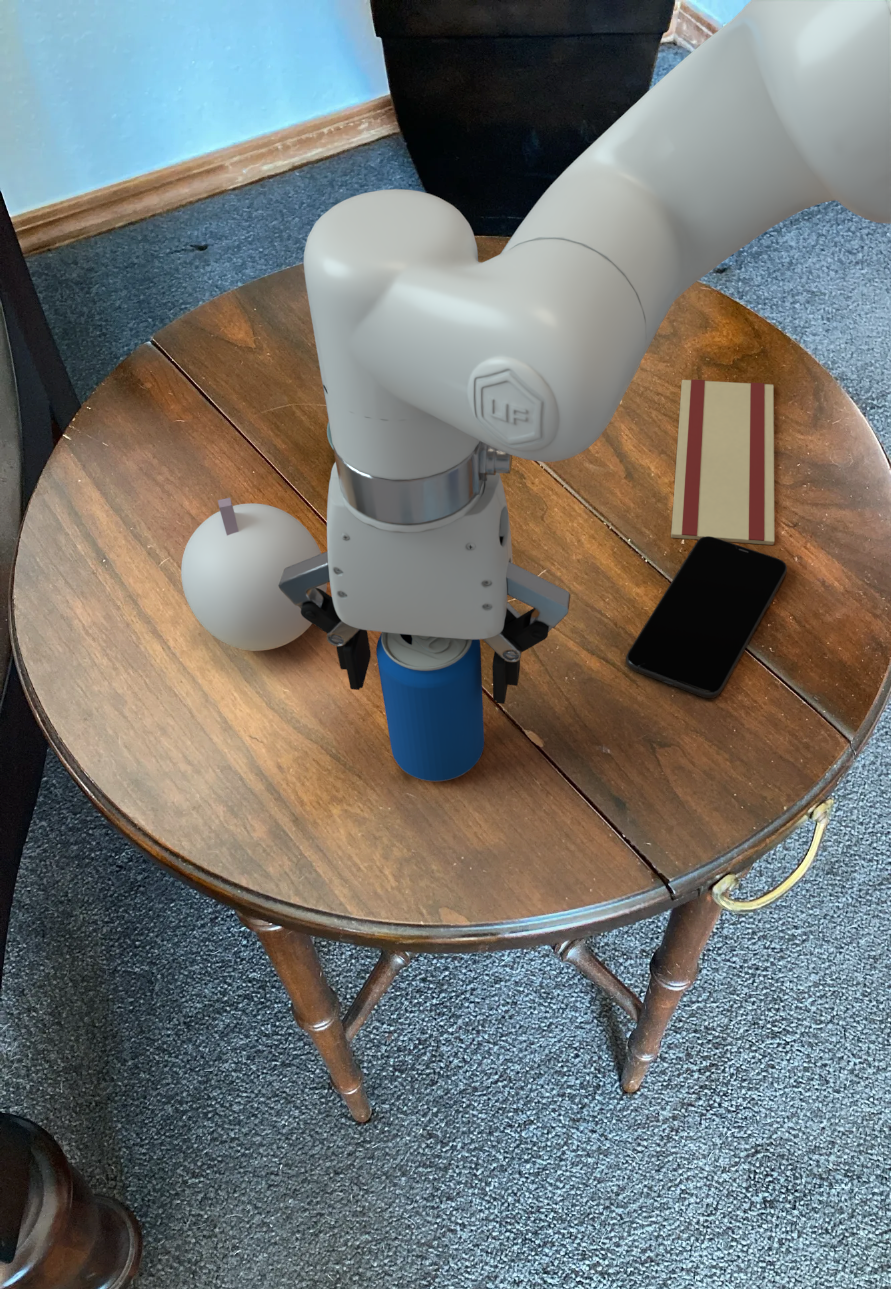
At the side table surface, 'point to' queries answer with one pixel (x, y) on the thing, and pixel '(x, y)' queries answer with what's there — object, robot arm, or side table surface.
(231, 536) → the ornament
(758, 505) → the tea towel
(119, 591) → the side table surface
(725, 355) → the side table surface
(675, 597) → the smartphone
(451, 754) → the beverage can
